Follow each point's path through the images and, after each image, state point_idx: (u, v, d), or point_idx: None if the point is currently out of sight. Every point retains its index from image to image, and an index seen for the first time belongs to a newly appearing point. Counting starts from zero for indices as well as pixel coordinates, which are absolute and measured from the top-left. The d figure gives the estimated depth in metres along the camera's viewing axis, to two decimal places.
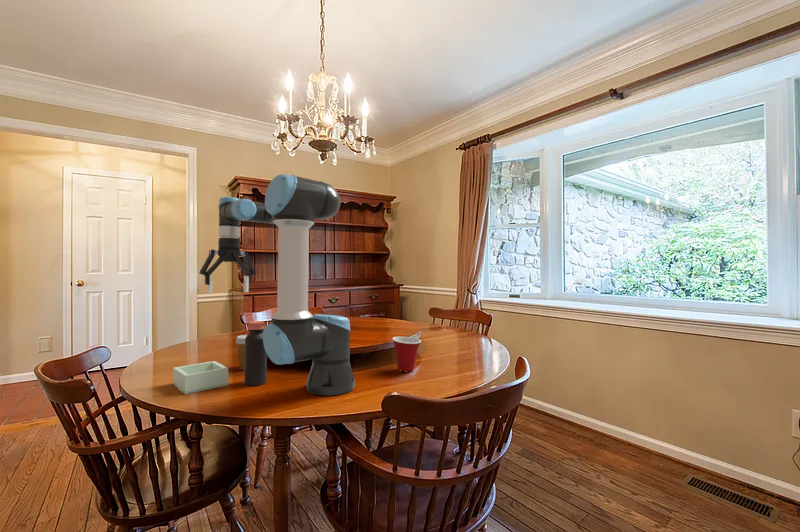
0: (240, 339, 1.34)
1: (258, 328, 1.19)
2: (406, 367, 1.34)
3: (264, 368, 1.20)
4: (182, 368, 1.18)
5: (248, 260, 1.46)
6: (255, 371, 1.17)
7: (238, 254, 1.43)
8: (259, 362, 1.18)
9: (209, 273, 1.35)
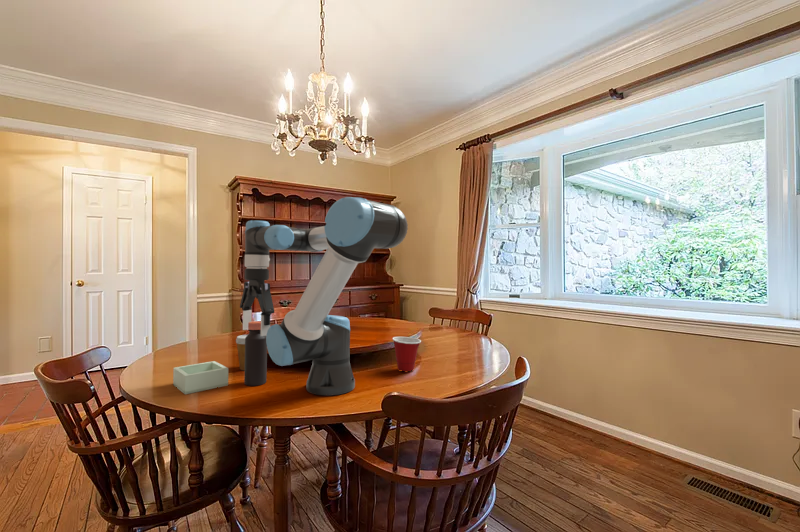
0: (240, 339, 1.34)
1: (258, 328, 1.19)
2: (406, 367, 1.34)
3: (264, 368, 1.20)
4: (182, 368, 1.18)
5: (262, 295, 1.15)
6: (255, 371, 1.17)
7: (257, 287, 1.18)
8: (259, 362, 1.18)
9: (243, 307, 1.25)
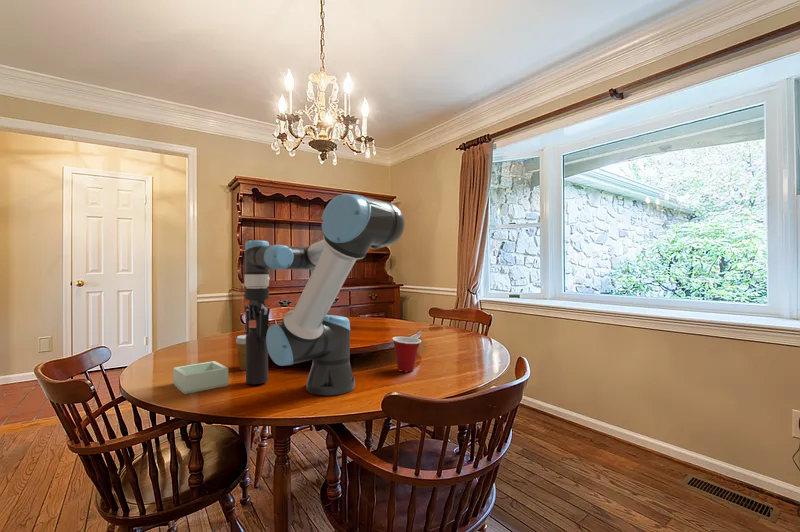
0: (240, 339, 1.34)
1: None
2: (406, 367, 1.34)
3: (266, 366, 1.20)
4: (182, 368, 1.18)
5: (260, 320, 1.16)
6: (258, 369, 1.17)
7: (257, 307, 1.18)
8: (262, 360, 1.18)
9: None
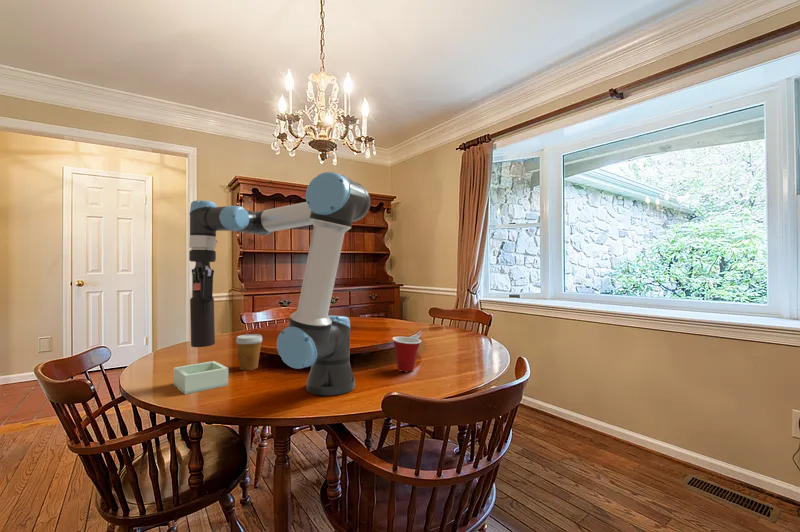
0: (240, 339, 1.34)
1: None
2: (406, 367, 1.34)
3: (212, 329, 1.17)
4: (182, 368, 1.18)
5: (203, 281, 1.13)
6: (203, 332, 1.15)
7: (201, 269, 1.15)
8: (207, 323, 1.16)
9: None
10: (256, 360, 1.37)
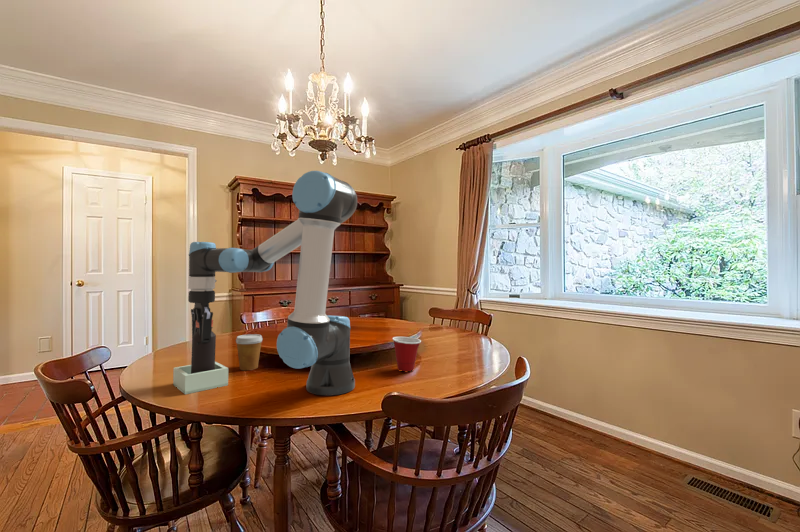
0: (240, 339, 1.34)
1: None
2: (406, 367, 1.34)
3: (214, 366, 1.19)
4: (182, 368, 1.18)
5: (202, 324, 1.14)
6: (206, 370, 1.16)
7: (200, 310, 1.15)
8: (211, 360, 1.17)
9: None
10: (256, 360, 1.37)
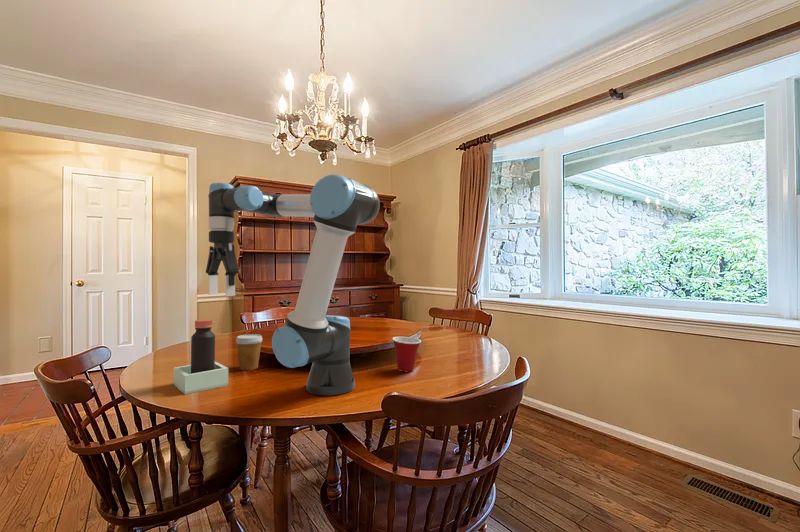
0: (240, 339, 1.34)
1: (208, 326, 1.17)
2: (406, 367, 1.34)
3: (214, 366, 1.18)
4: (182, 368, 1.18)
5: (226, 256, 1.15)
6: (206, 370, 1.16)
7: (222, 249, 1.18)
8: (210, 360, 1.17)
9: (208, 272, 1.25)
10: (256, 360, 1.37)
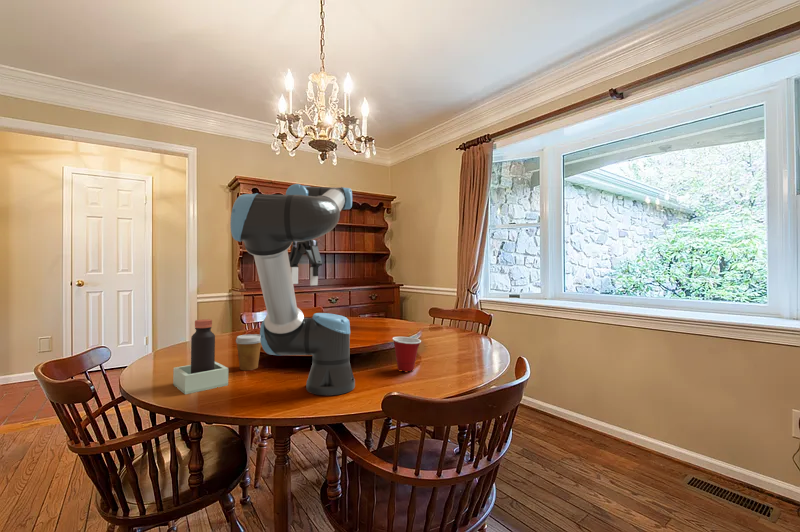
0: (240, 339, 1.34)
1: (208, 326, 1.17)
2: (406, 367, 1.34)
3: (214, 366, 1.18)
4: (182, 368, 1.18)
5: (312, 250, 1.32)
6: (206, 370, 1.16)
7: (306, 244, 1.35)
8: (210, 360, 1.17)
9: (291, 264, 1.42)
10: (256, 360, 1.37)
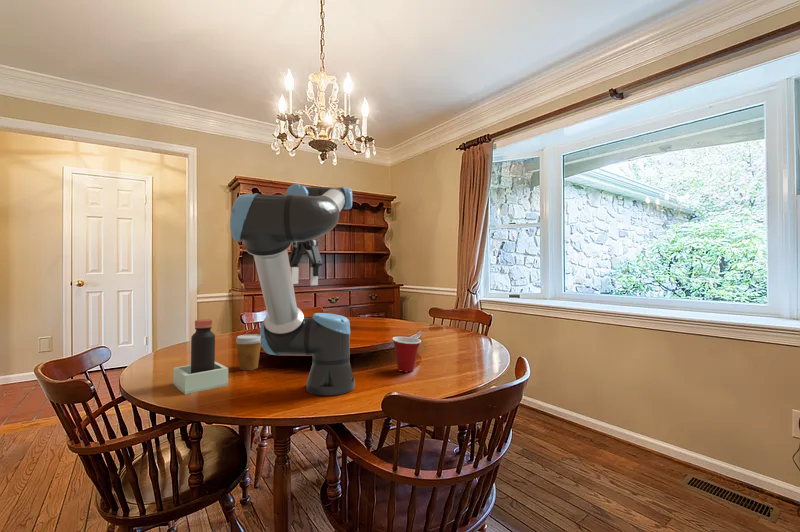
0: (240, 339, 1.34)
1: (208, 326, 1.17)
2: (406, 367, 1.34)
3: (214, 366, 1.18)
4: (182, 368, 1.18)
5: (312, 250, 1.32)
6: (206, 370, 1.16)
7: (306, 244, 1.35)
8: (210, 360, 1.17)
9: (291, 264, 1.42)
10: (256, 360, 1.37)
